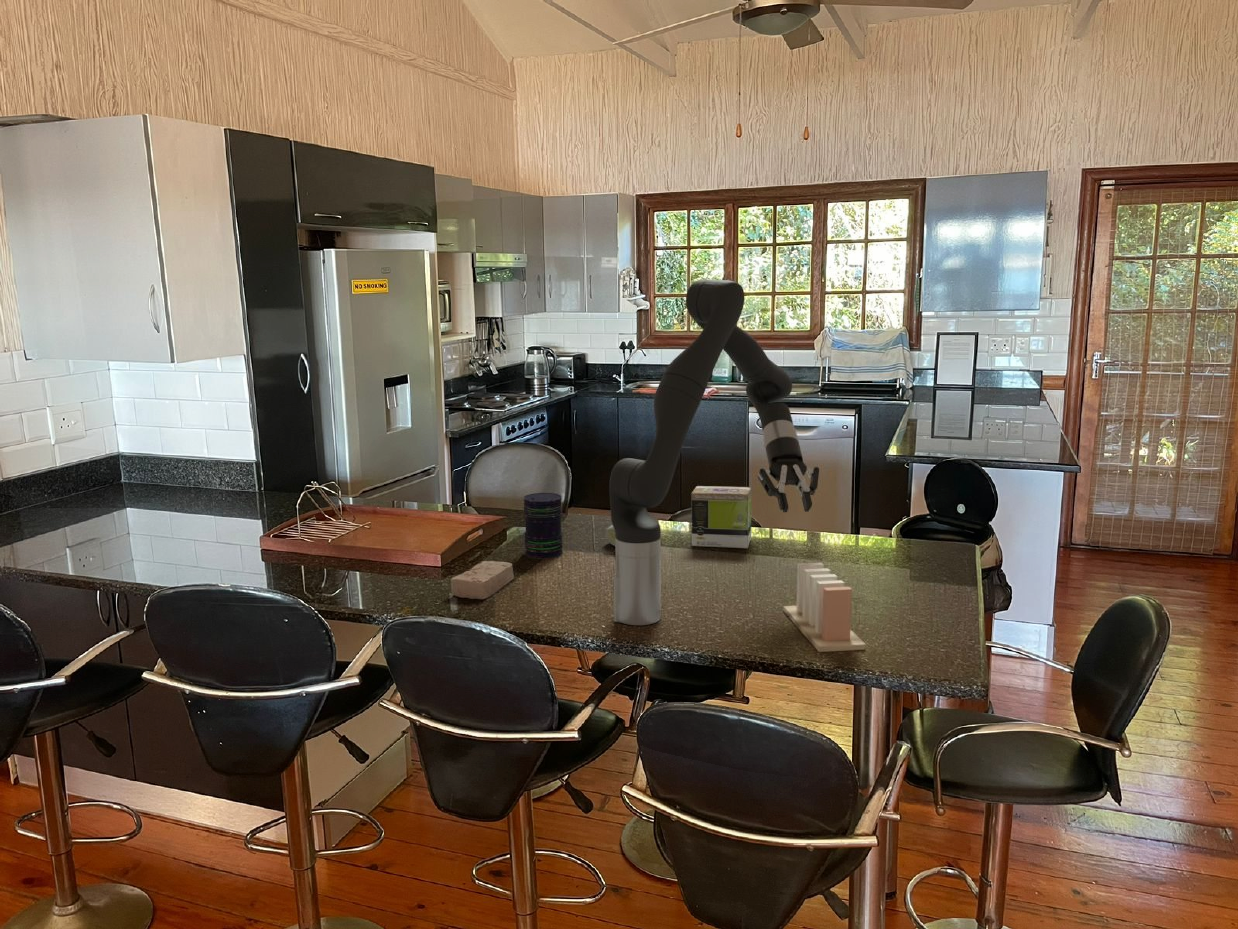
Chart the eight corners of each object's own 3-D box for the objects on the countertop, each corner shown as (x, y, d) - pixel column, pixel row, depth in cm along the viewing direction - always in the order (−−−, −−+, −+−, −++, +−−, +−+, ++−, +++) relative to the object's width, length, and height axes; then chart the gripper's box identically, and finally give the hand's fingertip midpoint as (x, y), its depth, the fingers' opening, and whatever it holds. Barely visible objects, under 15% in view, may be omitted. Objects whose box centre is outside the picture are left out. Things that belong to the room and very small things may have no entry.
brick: (483, 576, 223) (482, 557, 222) (515, 579, 220) (514, 560, 219) (450, 599, 207) (449, 579, 206) (484, 602, 205) (483, 582, 204)
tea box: (751, 539, 252) (752, 486, 250) (747, 549, 243) (748, 494, 240) (696, 537, 256) (696, 484, 253) (690, 546, 246) (690, 492, 243)
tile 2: (802, 616, 190) (803, 569, 188) (826, 615, 191) (827, 568, 189) (804, 619, 189) (806, 571, 187) (828, 617, 189) (830, 570, 187)
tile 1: (796, 609, 194) (797, 563, 192) (819, 608, 195) (821, 562, 193) (798, 612, 193) (800, 565, 191) (822, 611, 193) (823, 564, 191)
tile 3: (808, 623, 186) (810, 575, 185) (832, 622, 187) (834, 574, 185) (811, 626, 185) (812, 577, 183) (835, 624, 185) (837, 576, 184)
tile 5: (821, 638, 179) (823, 587, 177) (847, 636, 179) (849, 586, 177) (824, 641, 177) (826, 590, 175) (850, 639, 178) (852, 589, 176)
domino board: (783, 610, 197) (783, 606, 197) (824, 608, 198) (824, 604, 198) (819, 652, 174) (819, 647, 174) (865, 649, 175) (865, 644, 175)
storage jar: (551, 546, 248) (550, 491, 245) (570, 554, 240) (569, 497, 237) (518, 552, 242) (516, 496, 240) (536, 561, 234) (534, 503, 231)
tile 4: (815, 630, 182) (816, 581, 181) (839, 629, 183) (841, 580, 181) (817, 633, 181) (819, 584, 179) (842, 632, 181) (844, 582, 180)
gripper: (754, 436, 206) (768, 502, 196) (816, 434, 207) (833, 499, 198) (747, 455, 212) (761, 520, 202) (808, 453, 213) (824, 518, 204)
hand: (796, 509), depth 200 cm, fingers open, 4 cm apart
